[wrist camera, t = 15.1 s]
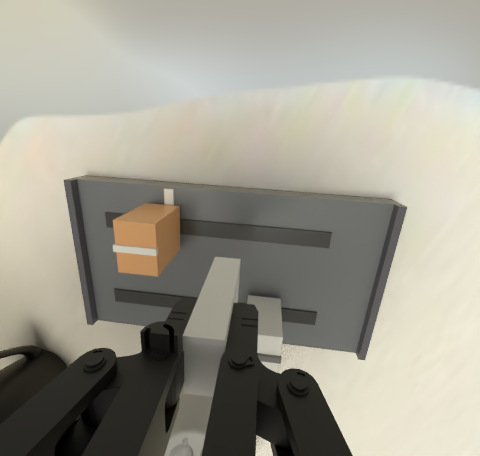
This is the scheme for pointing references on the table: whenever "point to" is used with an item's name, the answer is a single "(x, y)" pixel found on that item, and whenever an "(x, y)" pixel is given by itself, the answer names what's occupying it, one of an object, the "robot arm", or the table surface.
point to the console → (244, 254)
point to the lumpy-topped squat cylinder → (190, 426)
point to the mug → (26, 377)
